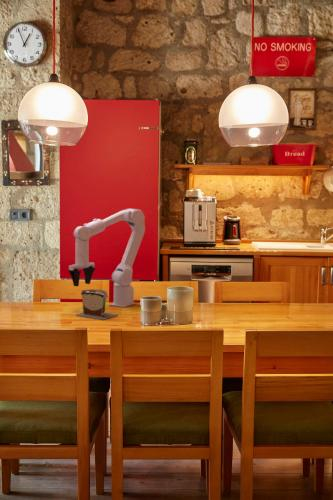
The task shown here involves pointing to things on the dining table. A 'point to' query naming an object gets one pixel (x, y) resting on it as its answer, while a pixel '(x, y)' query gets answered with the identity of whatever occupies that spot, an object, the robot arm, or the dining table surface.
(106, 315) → the mat
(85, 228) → the robot arm
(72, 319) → the dining table surface
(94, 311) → the food container
